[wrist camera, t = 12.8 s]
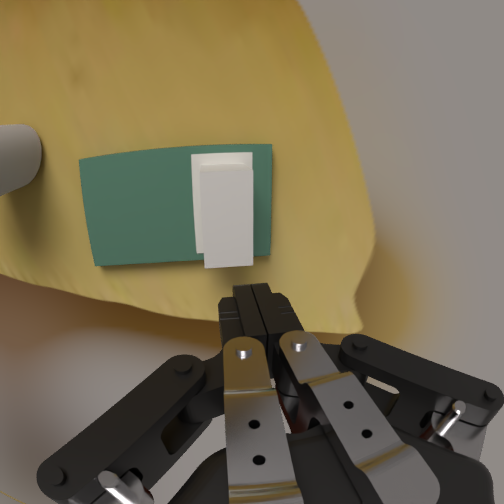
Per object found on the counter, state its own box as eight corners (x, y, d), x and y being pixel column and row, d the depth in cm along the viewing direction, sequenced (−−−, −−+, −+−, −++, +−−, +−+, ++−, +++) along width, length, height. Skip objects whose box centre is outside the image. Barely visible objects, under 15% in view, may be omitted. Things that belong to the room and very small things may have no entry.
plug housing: (200, 165, 27) (199, 172, 21) (243, 163, 27) (253, 170, 22) (204, 243, 30) (204, 268, 25) (243, 241, 31) (253, 265, 25)
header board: (99, 260, 30) (86, 278, 26) (84, 158, 26) (66, 162, 22) (267, 250, 33) (276, 266, 29) (268, 144, 29) (279, 145, 24)
